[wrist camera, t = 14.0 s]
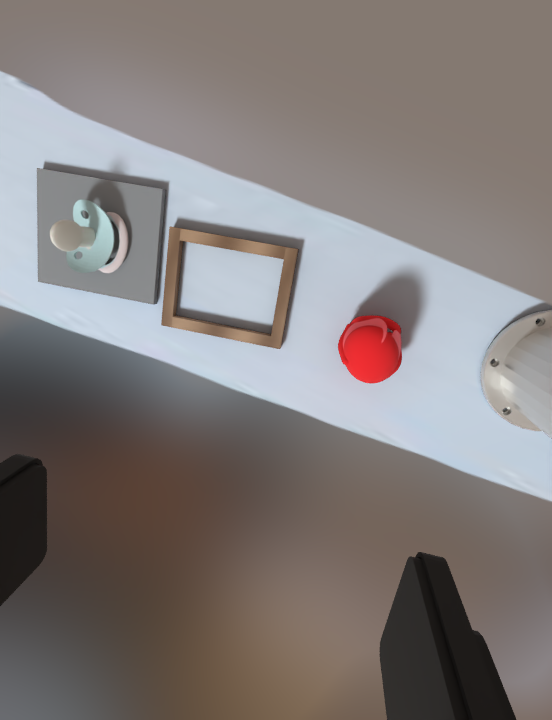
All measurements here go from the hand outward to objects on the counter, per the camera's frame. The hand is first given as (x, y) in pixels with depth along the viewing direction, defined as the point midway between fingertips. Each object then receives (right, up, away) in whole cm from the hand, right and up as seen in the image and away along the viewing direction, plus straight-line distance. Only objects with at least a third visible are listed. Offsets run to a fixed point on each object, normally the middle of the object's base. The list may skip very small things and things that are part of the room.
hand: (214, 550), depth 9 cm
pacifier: (-17, +18, +32) cm, 40 cm away
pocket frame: (-4, +13, +32) cm, 35 cm away
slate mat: (-18, +18, +33) cm, 41 cm away
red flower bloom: (+12, +6, +32) cm, 34 cm away
